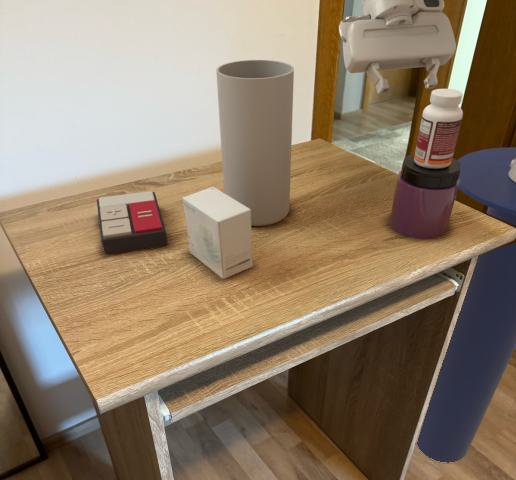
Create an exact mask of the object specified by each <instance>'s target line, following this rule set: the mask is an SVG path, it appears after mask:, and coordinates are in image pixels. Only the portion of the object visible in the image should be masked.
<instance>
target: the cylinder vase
mask: <svg viewBox="0 0 516 480" xmlns="http://www.w3.org/2000/svg"><path fill="white" fill-rule="evenodd" d="M215 71H216V85H217V87H216V88H217V103H218V117H219V119H218V120H219V133H220V149H221V151H220V152H221V167H222V182H223V183H222V184H223V193H225V194H226V195H228V196H230V197H231V198H233V199H234V200H236V201H238V202H239V203H241V204H243V205H244V206H246V207H248V208H249V209H251V227H260V226H261V227H265V226H270V225H273V224H277V223H278V222H281V221H282V220H283V219H285V218H286V217H287V216H288V214H289V213H290V203H291V201H290V200H291V172H292V171H291V168H292V165H291V164H292V143H293V142H292V140H293V138H292V137H293V112H294V111H293V107H294V81H295V80H294V79H295V67H294V66H293V65H291V64H289V63H286V62H284V61H278V60H270V59H246V60H235V61H231V62H226V63H224V64H221V65H219V66H218V67H216V70H215Z"/></svg>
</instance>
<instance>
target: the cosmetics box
mask: <svg viewBox="0 0 516 480" xmlns="http://www.w3.org/2000/svg"><path fill="white" fill-rule="evenodd" d="M182 203H183V204H182V205H183V212H184V217H185V223H186V224H185V225H186V232H187V240H188V247H189V253H190V254H191V255H192V256H194V257H195V258H196V259H197V260H199V261H200V262H201V263H202V264H203V265H205V266H206V267H207V268H208V269H210V270H211V271H212V272H214V273H215V274H216V275H217V276H218V277H220V278H221V279H223V280H225V279H227V278H230V277H232V276H234V275H236V274H239V273H241V272H243V271H246V270H248V269H251V268H252V267H254V262H253V259H254V258H253V242H252V240H253V239H252V238H253V237H252V226H251V209H249V208H248V207H246V206H244V205H243V204H241V203H239V202H238V201H236V200H234V199H233V198H231V197H230V196H228V195H226V194H225V193H224V191H221V190H219V189H218V188H217V187H215V186H211V187H208V188H205V189H203V190H199V191H197V192H194V193H190V194H188V195H186V196H183V197H182Z"/></svg>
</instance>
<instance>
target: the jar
mask: <svg viewBox="0 0 516 480" xmlns="http://www.w3.org/2000/svg"><path fill="white" fill-rule="evenodd" d="M459 183H460V180H459V178H458V180H457V182H456V183H455V184H454V185H452V186H449V187H444V188H426V187H420V186H416V185H413V184H410V183H408V182H407V181H405V180H404V179H403V178H402V177H401V170H400V171H399V173H398V174H397V177H396V183H395V189H394V195H393V201H392V206H391V210H390V215H389V216H390V217H389V226H390V227H391V229H392V230H393V231H395V232H396V233H398V234H400V235H402V236H405V237H408V238H413V239H418V240H419V239H421V240H422V239H423V240H427V239H435V238H438V237H441V236H443V235H444V234H445V233H447V230H448V226H449V223H450V219H451V216H452V212H453V208H454V205H455V201H456V198H457V193H458V190H459V188H458V187H459Z"/></svg>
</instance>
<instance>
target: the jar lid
mask: <svg viewBox="0 0 516 480" xmlns="http://www.w3.org/2000/svg"><path fill="white" fill-rule="evenodd" d="M414 155H415V153H413V154H409V155H407V156H405V157H404V158H403V161H402V165H401V169H400V171H401V177H402V178H403V179H404V180H405V181H407V182H408V183H410V184H413V185H416V186H420V187H426V188H444V187H449V186H452V185H454V184H455V183H456V182H457V180H458V178H459V174H460V169H461V164H460V163H459V162H458V161H457V160H458V159H456V158H454V157H453V158H452V161H451V164H450V165H449V166H448V167H445V168H441V169H431V168H425V167H421V166H419V165H417V164H416V163H415V161H414Z"/></svg>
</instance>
